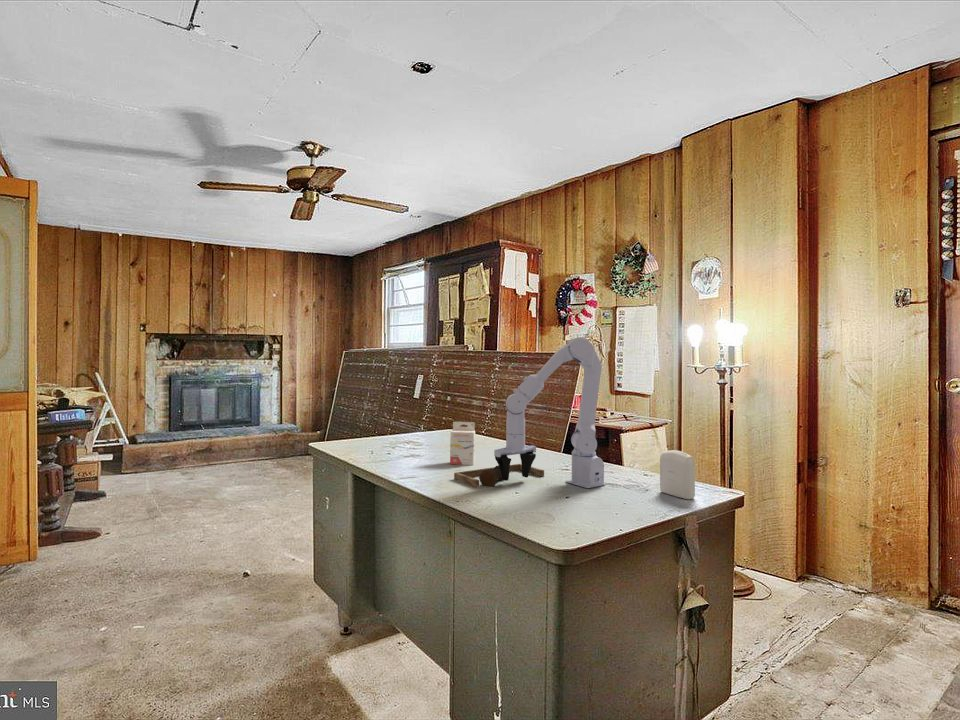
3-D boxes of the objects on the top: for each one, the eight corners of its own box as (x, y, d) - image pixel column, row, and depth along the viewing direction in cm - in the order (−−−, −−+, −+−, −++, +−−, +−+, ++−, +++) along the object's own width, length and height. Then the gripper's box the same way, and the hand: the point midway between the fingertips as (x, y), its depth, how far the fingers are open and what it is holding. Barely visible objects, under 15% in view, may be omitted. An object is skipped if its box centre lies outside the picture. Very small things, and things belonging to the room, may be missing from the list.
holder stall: (544, 476, 170) (544, 470, 170) (476, 487, 155) (476, 480, 155) (519, 469, 180) (519, 463, 180) (454, 479, 166) (454, 472, 166)
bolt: (507, 482, 170) (489, 492, 156) (494, 473, 172) (476, 482, 158) (515, 467, 169) (499, 475, 155) (503, 458, 171) (485, 465, 157)
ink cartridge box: (449, 464, 188) (449, 423, 188) (451, 462, 193) (452, 421, 193) (473, 465, 187) (474, 423, 187) (475, 462, 192) (475, 421, 192)
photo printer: (657, 491, 151) (657, 448, 151) (668, 490, 153) (668, 447, 153) (685, 500, 142) (686, 454, 142) (697, 498, 144) (697, 453, 144)
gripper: (526, 430, 168) (525, 473, 168) (488, 433, 160) (488, 478, 160) (540, 432, 162) (540, 477, 163) (502, 436, 154) (502, 483, 154)
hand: (515, 478), depth 161 cm, fingers open, 7 cm apart
